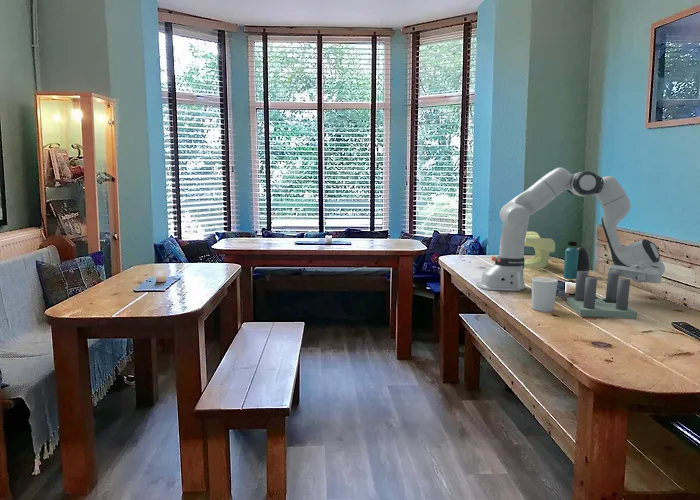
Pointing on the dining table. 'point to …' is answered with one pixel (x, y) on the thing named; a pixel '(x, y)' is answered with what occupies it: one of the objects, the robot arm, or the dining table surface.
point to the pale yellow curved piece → (538, 250)
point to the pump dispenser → (583, 260)
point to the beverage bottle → (571, 261)
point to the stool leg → (612, 287)
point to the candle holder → (543, 293)
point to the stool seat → (595, 307)
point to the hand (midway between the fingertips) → (625, 275)
